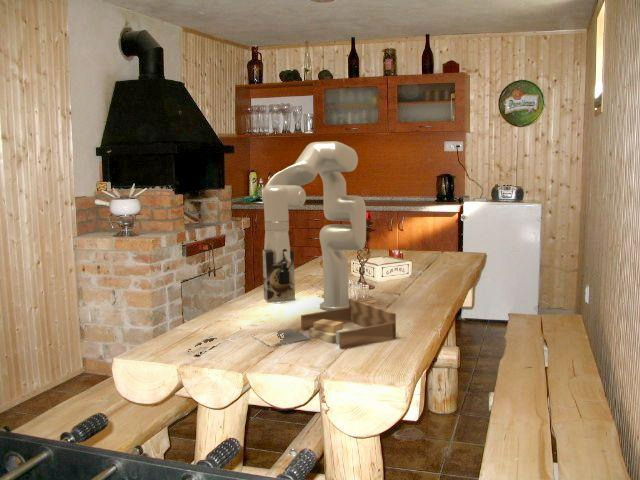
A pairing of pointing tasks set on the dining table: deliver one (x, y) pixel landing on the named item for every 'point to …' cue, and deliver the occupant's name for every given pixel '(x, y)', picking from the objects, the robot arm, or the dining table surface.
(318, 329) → the offcut short
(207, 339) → the driftwood
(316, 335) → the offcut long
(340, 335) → the rack
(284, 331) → the mat
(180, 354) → the dining table surface
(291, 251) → the coffee box
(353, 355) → the dining table surface
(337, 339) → the offcut cube
